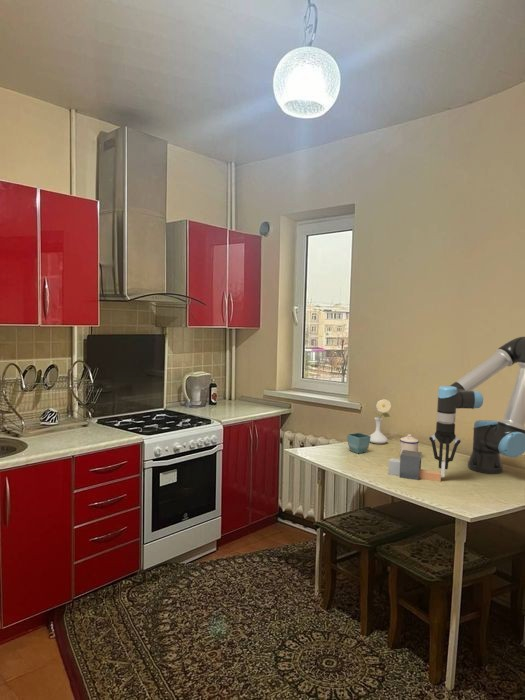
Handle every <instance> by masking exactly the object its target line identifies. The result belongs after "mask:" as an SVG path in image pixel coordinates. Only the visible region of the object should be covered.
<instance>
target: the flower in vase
mask: <svg viewBox="0 0 525 700" xmlns="http://www.w3.org/2000/svg"><path fill="white" fill-rule="evenodd" d="M375 407H376V410H377V411H378V412H380V413H381V415H380V414H379V413H377V412H375V414H376V415H378V416H377V417H374V418H373V419H374V421H375V431H374V432H372V433H371V434H369V436H371V438H370V443H373V444H387V443H388V441H389V439H388V437H387V436H385V435H384V434H383V433H382V432H381V424H382V421H383V420H384V418H390V417H391V416H390V414H389V413H388V412H389V411H390V409H391V408H392V404H391V401H390V400H388V399H385V398H384V399H381V400H378V401H377V402H376V405H375ZM382 416H383V417H384V418H383V417H382Z"/></svg>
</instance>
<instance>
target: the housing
mask: <svg viewBox="0 0 525 700" xmlns="http://www.w3.org/2000/svg"><path fill="white" fill-rule="evenodd" d="M422 454H423V453H422V451H418V452H416V451H408V450H403V451H402V453H401V456H400V455H399V457H400V458H399V459H400V475H399V478H401V479H408V480H415V481H419V480H420V478H419V469H422Z"/></svg>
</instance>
